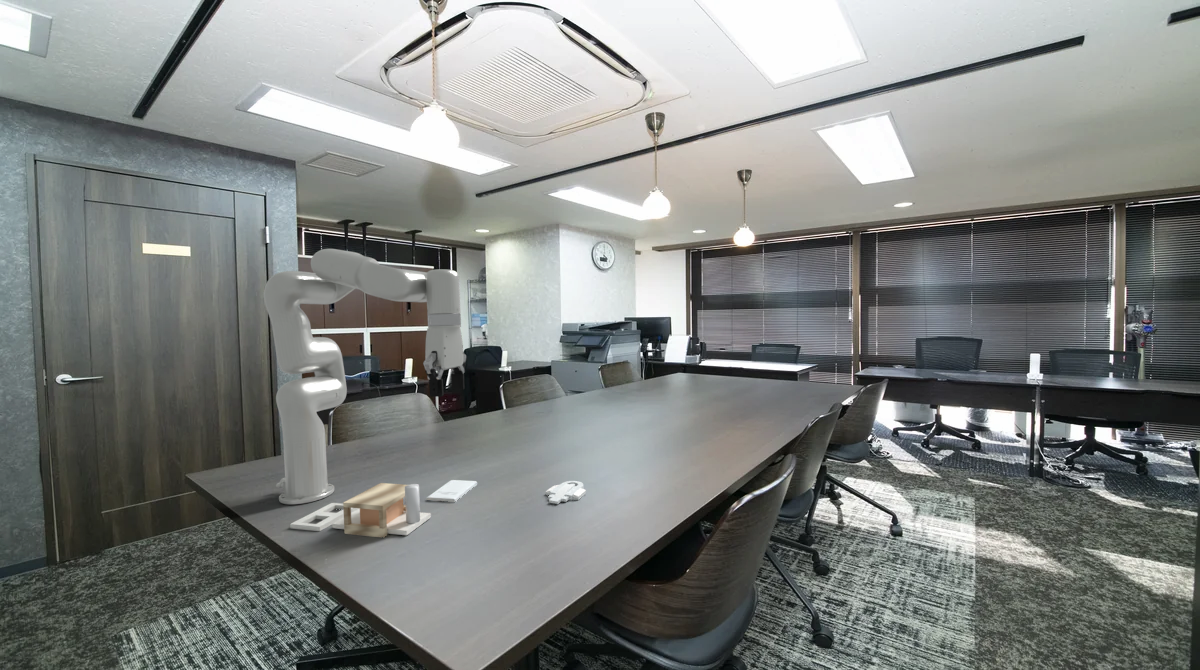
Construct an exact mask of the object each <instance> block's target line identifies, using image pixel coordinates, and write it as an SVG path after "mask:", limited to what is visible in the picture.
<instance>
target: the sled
mask: <svg viewBox="0 0 1200 670" xmlns="http://www.w3.org/2000/svg"><path fill="white" fill-rule="evenodd" d="M406 485H407V486H405V497H404V498H402V499H401V500H399V501H397V502H396V503H394V504H392V505H391V506H389V507H388V508H386V521H387V535H389V534H390V535H400V536H401V535H402V536H408V535H409V534H411V533H412V532H413V531H414V530H416V529H417V528H419V527H420V526H421V525H422V524H424V523H425V522H427V521H428V520H429V519H430V518H431V517H432V513H431V512H421V505H420V500H421V499H420V484H417V483H411V484H406ZM404 501H405V504H404ZM403 505H405V508H406V511H404V507H403ZM351 523H355V524H365V525H376V526H379V510H372V509H361V508H359V509H358V510H356V511H354V512H352V513H351ZM332 529H339V530H344V517H343V518H342V519H340V520H338V521H336V522H335V523H333V524H332Z"/></svg>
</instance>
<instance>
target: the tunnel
mask: <svg viewBox="0 0 1200 670" xmlns="http://www.w3.org/2000/svg"><path fill="white" fill-rule="evenodd" d="M407 485H408V484H399V483H386V482H380V483H378V484H376V485H374V486H372V487H370V488H367V489H366V490H365V491H363V492H361V493H359V494H357V495H355V496H353V497H351V498H349V499H347V500H346V501H343V502H342V504H343V510H344V529H343V530H344V535H345V534H346V535H354V536H363V537H364V536H365V537H373V538H374V537H375V538H382V537H383V538H382V539H384V538H386V537H387V536H388V533H387V521H386V508H388V507H389V506H391V505H392V504H394V503H396V502H397V501H399V500H401V499H402V498H403V499H405V486H407ZM403 507H404V511H406V508H405V504H403ZM351 508H361V509H372V510H379V526H376V525H365V524H355V523H351ZM385 536H386V537H385Z"/></svg>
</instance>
